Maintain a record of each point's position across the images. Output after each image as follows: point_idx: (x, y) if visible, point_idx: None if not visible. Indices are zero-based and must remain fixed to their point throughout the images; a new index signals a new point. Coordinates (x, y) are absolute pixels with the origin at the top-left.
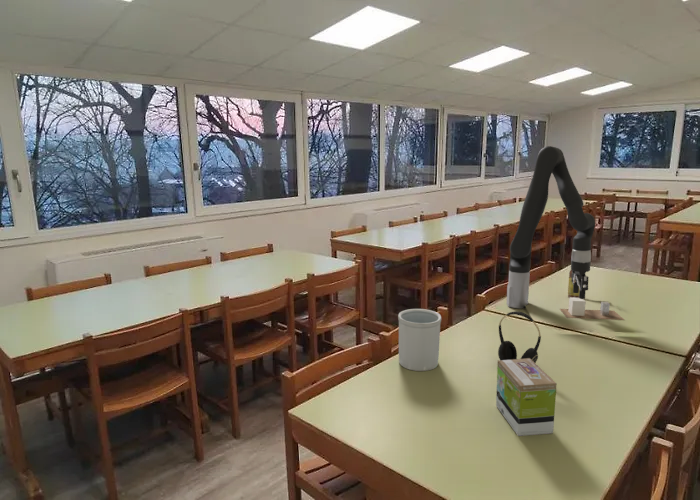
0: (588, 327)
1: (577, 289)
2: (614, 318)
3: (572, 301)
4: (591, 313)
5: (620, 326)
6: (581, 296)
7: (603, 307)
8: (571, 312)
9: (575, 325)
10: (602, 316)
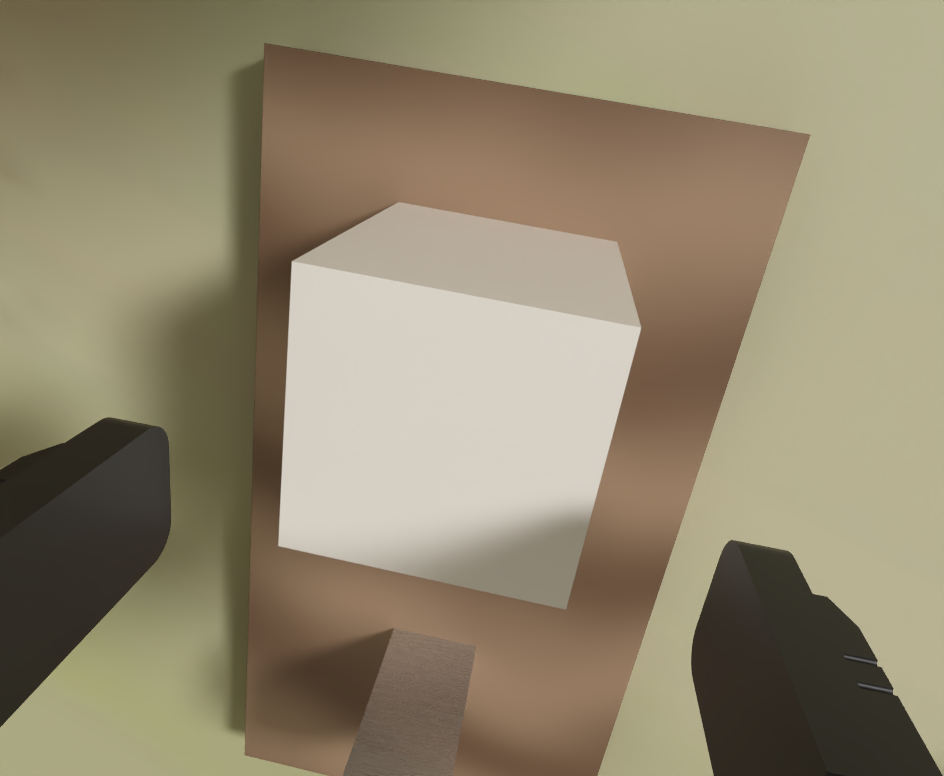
0: (57, 267)
1: (718, 721)
2: (285, 691)
3: (331, 261)
4: None
5: (159, 635)
6: (12, 471)
7: (359, 732)
8: (410, 212)
9: (105, 109)
10: (352, 610)
